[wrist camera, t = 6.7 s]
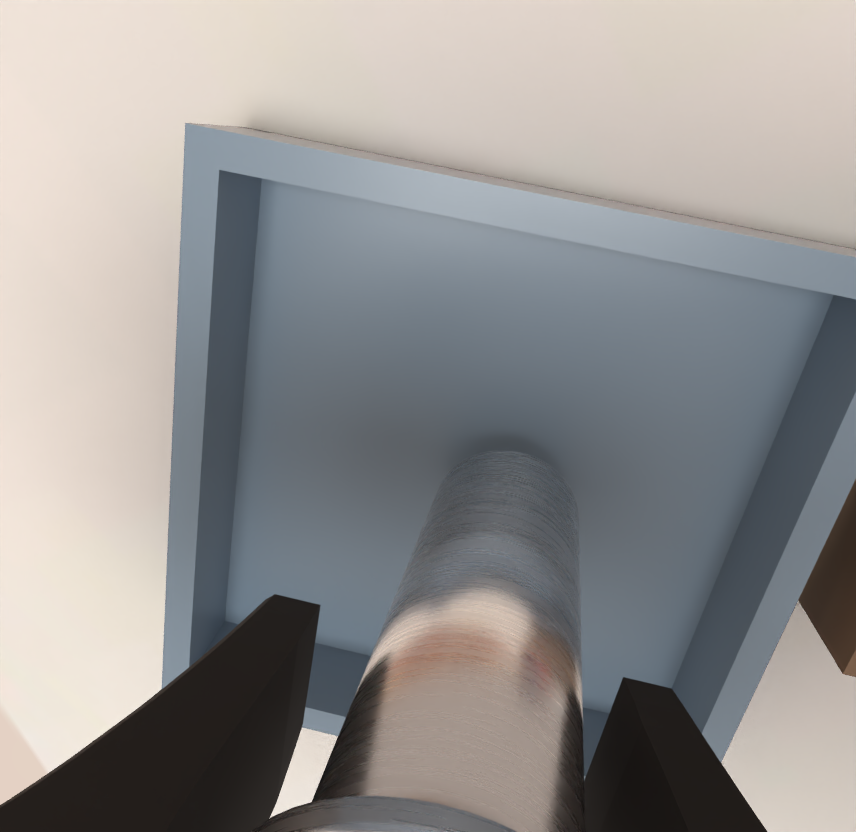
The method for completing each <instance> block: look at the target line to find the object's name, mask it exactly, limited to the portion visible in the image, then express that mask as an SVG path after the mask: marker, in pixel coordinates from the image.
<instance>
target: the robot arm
mask: <svg viewBox="0 0 856 832" xmlns="http://www.w3.org/2000/svg"><path fill="white" fill-rule="evenodd" d="M320 606H321V605H319V604H315V603H311V602H306V601H302V600H298V599H294V598H290V597H285V596H281V595H277V594H274V595H272V596H271V597H269V598H267V599H265V600H264V601H263V602H262V603H261V604H260V605H259V606H258V607H257V608H256V609H255V610H254V611H253V612H252V613H250V614H249V615H248V616H247V617H246V618H245V619H244V620H243V621H242V622H241V623H240V624H238V625H237V626H236V627H235V628H234V629H233V630H232V631H231V632H230V633H228V634H227V635H226V636H225V637H224V638H223V639H222V640H220V641H219V642H218V643H217V644H216V645H215V646H214V647H212V648H211V649H210V650H209V651H208V652H207V653H205V654H204V655H203V656H202V657H201V658H200V659H198V660H197V661H196V662H195V663H194V664H192V665H191V666H190V667H189V668H187V669H186V670H185V671H184V672H183V673H181V674H180V675H179V676H178V677H176V678H175V679H174V680H173V681H171V682H170V683H169V684H168V685H167V686H165V687H164V688H163V689H162V690H160V691H159V692H158V693H157V694H155V695H154V696H153V697H152V698H151V699H149V700H148V701H147V702H145V703H144V704H143V705H142V706H140V707H139V708H138V709H136V710H135V711H134V712H132V713H131V714H130V715H128V716H127V717H126V718H124V719H123V720H122V721H120V722H119V723H118V724H116V725H115V726H113V727H112V728H111V729H109V730H108V731H107V732H105V733H104V734H103V735H101V736H100V737H98V738H97V739H96V740H94V741H93V742H92V743H90V744H89V745H88V746H86V747H85V748H84V749H82V750H81V751H79V752H78V753H77V754H75V755H74V756H73V757H71V758H70V759H68V760H67V761H66V762H64V763H63V764H61V765H60V766H58V767H57V768H55V769H54V770H52V771H51V772H50V773H48V774H47V775H45V776H44V777H42V778H41V779H39V780H38V781H36V782H35V783H34V784H32V785H30V786H29V787H27V788H26V789H24V790H23V791H22V792H20V793H19V794H17V795H15V796H14V797H12V798H11V799H10V800H8V801H6V802H5V803H3V804H1V805H0V832H251V831H252V830H253V829H254V828H256V827H258V826H259V825H261V824H262V823H264V822H265V821H267V820H268V819H269V818H270V816H271V813H272V811H273V809H274V807H275V804H276V802H277V799H278V796H279V793H280V790H281V787H282V785H283V782H284V779H285V776H286V773H287V770H288V767H289V764H290V761H291V758H292V755H293V752H294V749H295V746H296V743H297V740H298V737H299V734H300V731H301V728H302V725H303V720H304V713H305V707H306V700H307V693H308V687H309V680H310V673H311V666H312V660H313V653H314V646H315V639H316V633H317V626H318V619H319V612H320ZM584 802H585V832H767V831H766V829H765V828H764V826H763V825H762V823H761V822H760V820H759V819H758V818H757V816H756V815H755V813H754V812H753V810H752V809H751V807H750V806H749V804H748V803H747V801H746V800H745V798H744V797H743V795H742V794H741V792H740V791H739V789H738V788H737V786H736V785H735V783H734V782H733V780H732V779H731V777H730V776H729V774H728V773H727V771H726V770H725V768H724V767H723V765H722V764H721V762H720V761H719V759H718V758H717V756H716V755H715V753H714V752H713V750H712V748H711V747H710V745H709V744H708V742H707V741H706V739H705V738H704V736H703V735H702V733H701V732H700V730H699V729H698V727H697V725H696V724H695V722H694V721H693V719H692V718H691V716H690V715H689V713H688V712H687V710H686V709H685V707H684V706H683V704H682V703H681V701H680V700H679V698H678V697H677V695H676V694H675V692H674V691H673V689H672V688H668V687H664V686H659V685H655V684H651V683H647V682H643V681H638V680H634V679H630V678H626V677H623V679H622V681H621V684H620V687H619V689H618V692H617V695H616V697H615V700H614V703H613V705H612V708H611V711H610V713H609V716H608V719H607V721H606V724H605V727H604V729H603V732H602V735H601V737H600V740H599V743H598V745H597V748H596V751H595V753H594V756H593V759H592V761H591V764H590V767H589V769H588V772H587V775H586V777H585V780H584Z"/></svg>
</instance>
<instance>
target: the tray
mask: <svg viewBox="0 0 856 832" xmlns="http://www.w3.org/2000/svg"><path fill="white" fill-rule="evenodd" d="M490 451H514V452H519V453H523V454H527V455H530V456H532V457H535V458H537V459H539V460H541V461H543V462H544V463H546V464H547V465H549V466H550V467H552V468H553V469H554V470H555V471H557V472H558V473H559V474H560V475H561V477H562V478H563V479H564V480H565V481H566V483H567V484H568V485H569V487H570V489H571V491H572V493H573V494H574V497H575V500H576V502H577V507H578V512H579V546H580V597H581V648H582V700H583V751H584V780H585V777H586V775H587V772H588V769H589V767H590V764H591V761H592V759H593V756H594V753H595V751H596V748H597V745H598V743H599V740H600V737H601V735H602V732H603V729H604V727H605V724H606V721H607V719H608V716H609V713H610V711H611V708H612V705H613V703H614V700H615V697H616V695H617V692H618V689H619V687H620V684H621V681H622V679H623V677H626V678H630V679H634V680H638V681H643V682H647V683H651V684H655V685H659V686H664V687H668V688H672V689H673V691H674V692H675V694H676V695H677V697H678V698H679V700H680V701H681V703H682V704H683V706H684V707H685V709H686V710H687V712H688V713H689V715H690V716H691V718H692V719H693V721H694V722H695V724H696V725H697V727H698V729H699V730H700V732H701V733H702V735H703V736H704V738H705V739H706V741H707V742H708V744H709V745H710V747H711V748H712V750H713V752H714V753H715V755H716V756H717V758H718V759H719V761H720V762H722V759H723V757H724V755H725V753H726V751H727V749H728V747H729V745H730V743H731V741H732V738H733V736H734V734H735V732H736V730H737V728H738V726H739V724H740V722H741V719H742V717H743V715H744V713H745V711H746V709H747V707H748V705H749V703H750V701H751V698H752V696H753V694H754V692H755V690H756V688H757V686H758V684H759V682H760V679H761V677H762V675H763V673H764V671H765V669H766V667H767V665H768V663H769V660H770V658H771V656H772V654H773V652H774V650H775V648H776V646H777V644H778V642H779V639H780V637H781V635H782V633H783V631H784V629H785V627H786V625H787V623H788V620H789V618H790V616H791V614H792V612H793V610H794V608H795V606H796V604H797V602H798V599H799V597H800V595H801V593H802V591H803V589H804V587H805V585H806V583H807V580H808V578H809V576H810V574H811V572H812V570H813V568H814V566H815V564H816V562H817V559H818V557H819V555H820V553H821V551H822V549H823V547H824V545H825V543H826V540H827V538H828V536H829V534H830V532H831V530H832V528H833V526H834V524H835V521H836V519H837V517H838V515H839V513H840V511H841V509H842V507H843V505H844V503H845V500H846V498H847V496H848V494H849V492H850V490H851V488H852V486H853V484H854V481H855V479H856V249H852V248H847V247H842V246H837V245H832V244H827V243H822V242H817V241H811V240H806V239H801V238H796V237H791V236H786V235H781V234H776V233H771V232H766V231H761V230H756V229H751V228H746V227H741V226H736V225H731V224H726V223H721V222H716V221H711V220H706V219H701V218H696V217H691V216H686V215H681V214H676V213H671V212H666V211H661V210H656V209H651V208H646V207H641V206H636V205H631V204H626V203H621V202H616V201H611V200H606V199H601V198H596V197H591V196H586V195H581V194H576V193H571V192H566V191H561V190H556V189H551V188H546V187H541V186H536V185H531V184H526V183H521V182H516V181H511V180H506V179H501V178H496V177H491V176H486V175H481V174H476V173H471V172H466V171H461V170H456V169H451V168H446V167H441V166H436V165H431V164H426V163H421V162H416V161H411V160H406V159H401V158H396V157H391V156H386V155H381V154H376V153H371V152H366V151H361V150H356V149H351V148H346V147H341V146H336V145H331V144H326V143H321V142H316V141H311V140H306V139H301V138H296V137H291V136H286V135H281V134H276V133H271V132H266V131H260V130H255V129H250V128H245V127H233V126H219V125H206V124H192V123H185V146H184V170H183V194H182V218H181V241H180V265H179V289H178V313H177V337H176V361H175V385H174V409H173V432H172V456H171V480H170V504H169V528H168V552H167V576H166V600H165V623H164V647H163V671H162V689H163V688H164V687H165V686H167V685H168V684H169V683H170V682H171V681H173V680H174V679H175V678H176V677H178V676H179V675H180V674H181V673H183V672H184V671H185V670H186V669H187V668H189V667H190V666H191V665H192V664H194V663H195V662H196V661H197V660H198V659H200V658H201V657H202V656H203V655H204V654H205V653H207V652H208V651H209V650H210V649H211V648H212V647H214V646H215V645H216V644H217V643H218V642H219V641H220V640H222V639H223V638H224V637H225V636H226V635H227V634H228V633H230V632H231V631H232V630H233V629H234V628H235V627H236V626H237V625H238V624H240V623H241V622H242V621H243V620H244V619H245V618H246V617H247V616H248V615H249V614H250V613H252V612H253V611H254V610H255V609H256V608H257V607H258V606H259V605H260V604H261V603H262V602H263V601H264V600H265V599H267V598H269V597H271V596H272V595H274V594H277V595H281V596H285V597H290V598H294V599H298V600H302V601H306V602H311V603H315V604H319V605H321V606H320V612H319V619H318V626H317V633H316V639H315V646H314V653H313V660H312V666H311V673H310V680H309V687H308V693H307V700H306V707H305V713H304V720H303V725H302V727H303V728H307V729H311V730H315V731H320V732H324V733H328V734H332V735H336V736H339V733H340V731H341V728H342V726H343V723H344V721H345V718H346V716H347V713H348V711H349V709H350V706H351V704H352V701H353V699H354V696H355V694H356V691H357V689H358V686H359V684H360V681H361V679H362V676H363V674H364V671H365V669H366V666H367V664H368V661H369V659H370V656H371V654H372V651H373V649H374V646H375V644H376V642H377V639H378V637H379V634H380V632H381V629H382V627H383V624H384V622H385V619H386V617H387V614H388V612H389V609H390V607H391V604H392V602H393V599H394V597H395V594H396V592H397V589H398V587H399V584H400V582H401V580H402V577H403V575H404V572H405V570H406V567H407V565H408V562H409V560H410V557H411V555H412V552H413V550H414V547H415V545H416V542H417V540H418V537H419V535H420V532H421V530H422V527H423V525H424V522H425V520H426V518H427V515H428V513H429V510H430V508H431V505H432V503H433V500H434V498H435V495H436V493H437V490H438V488H439V486H440V484H441V482H442V481H443V479H444V478H445V476H446V475H447V474H448V473H449V472H450V471H451V470H452V469H453V468H454V467H455V466H456V465H458V464H459V463H460V462H462V461H464V460H465V459H467V458H469V457H472V456H474V455H477V454H480V453H484V452H490Z"/></svg>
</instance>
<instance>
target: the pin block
mask: <svg viewBox="0 0 856 832" xmlns="http://www.w3.org/2000/svg"><path fill="white" fill-rule="evenodd" d="M798 600H799V602H800V604H801V605H802V607H803V609H804V610H805V612H806V614H807V615H808V617H809V619H810V620H811V622H812V624H813V625H814V627H815V629H816V630H817V632H818V634H819V635H820V637H821V639H822V640H823V642H824V644H825V645H826V647H827V649H828V650H829V652H830V653H831V655H832V657H833V658H834V660H835V662H836V663H837V665H838V667H839V668H840V670H841V672H842V673H843V674H845V675H850V676H854V677H856V479H855V481H854V484H853V486H852V488H851V490H850V492H849V494H848V496H847V498H846V500H845V503H844V505H843V507H842V509H841V511H840V513H839V515H838V517H837V519H836V521H835V524H834V526H833V528H832V530H831V532H830V534H829V536H828V538H827V540H826V543H825V545H824V547H823V549H822V551H821V553H820V555H819V557H818V559H817V562H816V564H815V566H814V568H813V570H812V572H811V574H810V576H809V578H808V580H807V583H806V585H805V587H804V589H803V591H802V593H801V595H800V597H799V599H798Z"/></svg>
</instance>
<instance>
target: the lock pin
mask: <svg viewBox="0 0 856 832" xmlns="http://www.w3.org/2000/svg"><path fill="white" fill-rule="evenodd" d="M251 832H585V802H584V751H583V700H582V648H581V597H580V546H579V512H578V507H577V502H576V500H575V497H574V494H573V493H572V491H571V489H570V487H569V485H568V484H567V483H566V481H565V480H564V479H563V478H562V477H561V475H560V474H559V473H558V472H557V471H555V470H554V469H553V468H552V467H550V466H549V465H547V464H546V463H544V462H543V461H541V460H539V459H537V458H535V457H532V456H530V455H527V454H523V453H519V452H514V451H490V452H484V453H480V454H477V455H474V456H472V457H469V458H467V459H465V460H464V461H462V462H460V463H459V464H458V465H456V466H455V467H454V468H453V469H452V470H451V471H450V472H449V473H448V474H447V475H446V476H445V478H444V479H443V481H442V482H441V484H440V486H439V488H438V490H437V493H436V495H435V498H434V500H433V503H432V505H431V508H430V510H429V513H428V515H427V518H426V520H425V522H424V525H423V527H422V530H421V532H420V535H419V537H418V540H417V542H416V545H415V547H414V550H413V552H412V555H411V557H410V560H409V562H408V565H407V567H406V570H405V572H404V575H403V577H402V580H401V582H400V584H399V587H398V589H397V592H396V594H395V597H394V599H393V602H392V604H391V607H390V609H389V612H388V614H387V617H386V619H385V622H384V624H383V627H382V629H381V632H380V634H379V637H378V639H377V642H376V644H375V646H374V649H373V651H372V654H371V656H370V659H369V661H368V664H367V666H366V669H365V671H364V674H363V676H362V679H361V681H360V684H359V686H358V689H357V691H356V694H355V696H354V699H353V701H352V704H351V706H350V709H349V711H348V713H347V716H346V718H345V721H344V723H343V726H342V728H341V731H340V733H339V736H338V738H337V741H336V743H335V746H334V748H333V751H332V753H331V756H330V758H329V761H328V763H327V766H326V768H325V771H324V773H323V775H322V778H321V780H320V783H319V785H318V788H317V790H316V793H315V795H314V798H313V800H312V802H311V803H308V804H304V805H301V806H297V807H294V808H291V809H289V810H287V811H285V812H282V813H280V814H278V815H275V816H273V817H271V818H270V819H268V820H267V821H265V822H264V823H262V824H261V825H259V826H258V827H256V828H254V829H253V830H252V831H251Z"/></svg>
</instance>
